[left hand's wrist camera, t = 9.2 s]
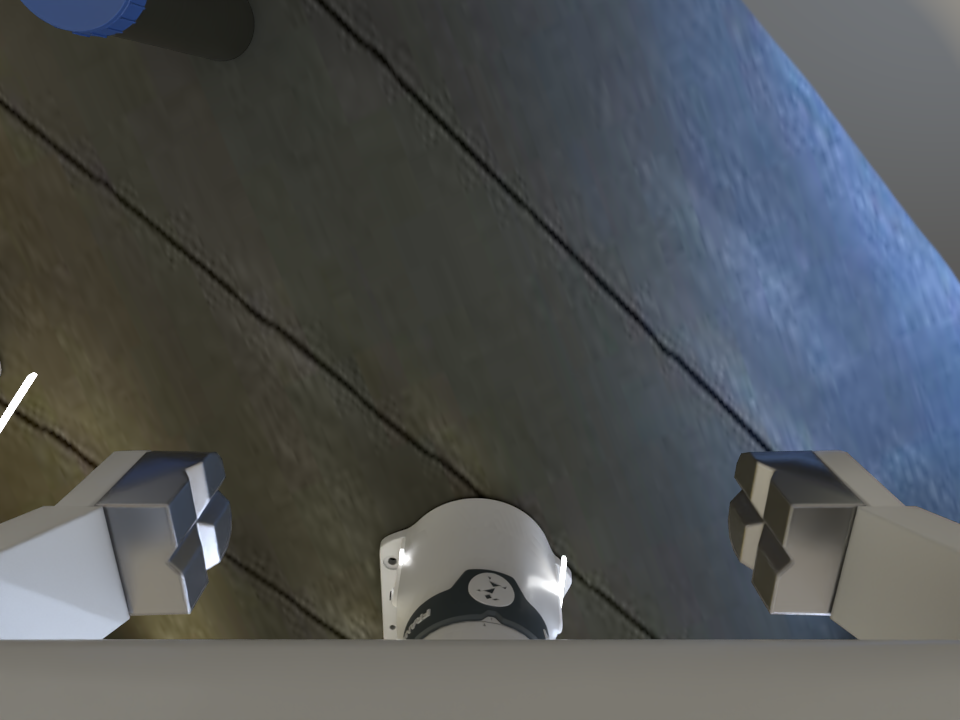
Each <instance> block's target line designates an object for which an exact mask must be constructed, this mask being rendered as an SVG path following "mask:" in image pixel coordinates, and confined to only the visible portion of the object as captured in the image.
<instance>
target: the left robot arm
mask: <svg viewBox="0 0 960 720" xmlns="http://www.w3.org/2000/svg"><path fill="white" fill-rule="evenodd" d="M225 478H226V477H225V472H224V467H223V462H222V458H221V457H220V456H219V455H218V454H217V453H216V452H193V451H150V450H134V451H116V452H113V453H112V454H111V455H110V456H109V457H108V458H107V459H106V460H105V461H103V462H102V463H101V464H100V465H99V466H98V467H97V468H96V469H95V470H94V471H92V472H91V473H90V474H89V475H88V476H87V477H86V478H85V479H84V480H83V481H82V482H80V483H79V484H78V485H77V486H76V487H75V488H74V489H73V490H72V491H71V492H69V493H68V494H67V495H66V496H65V497H64V498H63V499H62V500H61V501H60V502H59V503H57V504H56V505H55V506H43V507H41V508H38V509H36V510H33V511H31V512H28V513H26V514H23V515H21V516H18V517H16V518H13V519H11V520H8V521H6V522H3V523H1V524H0V720H960V524H959V523H956V522H954V521H952V520H949V519H947V518H944V517H942V516H939V515H937V514H934V513H932V512H929V511H927V510H924V509H922V508H919V507H917V506H905V505H904V504H903V503H902V502H900V501H899V500H898V499H897V498H896V497H895V496H894V495H893V494H892V493H891V492H890V491H888V490H887V489H886V488H885V487H884V486H883V485H882V484H881V483H880V482H879V481H878V480H876V479H875V478H874V477H873V476H872V475H871V474H870V473H869V472H868V471H867V470H866V469H864V468H863V467H862V466H861V465H860V464H859V463H858V462H857V461H856V460H855V459H853V458H852V457H851V456H850V455H849V454H848V453H847V452H844V451H840V450H825V451H776V452H747V453H741V455H740V457H739V460H738V462H737V465H736V471H735V476H734V478H735V479H736V481H737V482H738V484H739V485H740V487H741V488H742V490H741V491H740V492H739V493H738V494H737V496H736V497H735V498H734V499H733V500H732V501H731V502H730V508H729V516H728V526H729V537H730V541H731V544H732V547H733V550H734V552H735V554H736V556H737V558H738V560H739V561H740V562H741V563H742V564H744V565H746V566H747V567H749V568H751V569H752V570H753V575H752V581H751V582H752V584H753V586H754V587H755V589H756V591H757V592H758V594H759V596H760V597H761V599H762V601H763V603H764V604H765V606H766V608H767V609H768V611H769V613H770V614H791V615H828V616H830V619H832V620H833V621H834V622H836V623H837V624H838V625H840V626H841V627H842V628H844V629H845V630H847V631H848V632H849V633H851V634H852V635H853V636H855V637H856V638H857V639H859V640H556V637H557V634H560V633H561V632H562V611H561V607H562V599H563V597H564V596H565V594H566V592H567V591H568V589H569V587H570V585H571V583H572V575H571V571H570V569H569V568H568V567H567V565H566V563H567V561H566V556H562V561H561V560H560V559H559V558H558V557H557V556H555V555H554V553H553V552H552V550H551V548H550V546H549V543H548V541H547V539H546V537H545V535H544V533H543V531H542V530H541V528H540V527H539V526H538V525H537V523H536V522H535V521H534V520H533V519H532V518H531V517H529V516H528V515H527V514H526V513H524V512H523V511H521V510H519V509H518V508H516V507H514V506H511V505H509V504H507V503H504V502H500V501H496V500H491V499H483V498H469V499H461V500H456V501H452V502H449V503H446V504H444V505H441V506H439V507H437V508H435V509H433V510H432V511H430V512H429V513H427V514H426V515H425V516H423V517H422V518H421V519H420V520H419V521H418V522H416V523H415V524H414V525H413V526H411V527H410V528H408V529H405V530H402V531H399V532H396V533H393V534H391V535H389V536H387V537H385V538H384V539H383V540H382V541H381V543H380V571H381V592H382V614H383V635H384V639H103V638H104V637H106V636H107V635H108V634H110V633H111V632H112V631H114V630H115V629H116V628H118V627H119V626H120V625H122V624H123V623H124V622H126V621H127V620H128V619H130V616H131V615H167V614H190V613H191V611H192V609H193V608H194V606H195V604H196V603H197V601H198V599H199V597H200V596H201V594H202V592H203V591H204V589H205V587H206V586H207V584H208V582H209V581H208V576H207V570H208V569H209V568H211V567H213V566H214V565H216V564H217V563H219V562H220V561H221V559H222V558H223V556H224V554H225V552H226V550H227V548H228V544H229V540H230V535H231V531H232V514H231V507H230V502H229V501H228V500H227V499H226V498H225V497H224V496H223V495H222V493H221V492H220V491H219V490H218V488H219V487H220V485H221V484H222V482H223V481H224V479H225ZM390 558H395V559H396V560H391V559H390Z"/></svg>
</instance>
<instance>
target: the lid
mask: <svg viewBox="0 0 960 720" xmlns="http://www.w3.org/2000/svg"><path fill="white" fill-rule="evenodd" d="M21 1H22V3H23V4H24V5H25V6H26V7H27V8H28V9H29V10H30V11H31V12H33V13H34V14H35V15H36V16H37V17H39V18H40V19H42V20H43V21H45V22H47V23H49V24H50V25H52V26H54V27H56V28H59V29H64V30H68V31H72V33H73V34H77V35H82V36H86V37H90V36H99V37H104V38H107V36H109V35H114V34H116V33H123V32H122V31H123V30H125V29H127V28H128V27H129V26H131V25H132V24H135V23H136V22H135V21H136V19H137V18H138V17H139V16H140V14H141V12H142V11H143V10H145V7H144V6H145V4H146V1H147V0H21Z"/></svg>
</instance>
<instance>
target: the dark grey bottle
mask: <svg viewBox="0 0 960 720" xmlns="http://www.w3.org/2000/svg"><path fill="white" fill-rule="evenodd" d="M144 7H145V10H143V11H142V12H141V14H140V16H139V17H138V18H137V19H136V21H135V22H136V23H135V24H132V25H131V26H129V27H128V28H127V29H125V30H123V31H122V32H123V33H116V34H114V35H111V36H115V37H119V38H123V39H128V40H132V41H136V42H140V43H144V44H148V45H153V46H157V47H161V48H165V49H169V50H173V51H178V52H182V53H186V54H190V55H194V56H198V57H202V58H207V59H211V60H215V61H227V60H231V59H234V58H236V57H238V56H239V55H240V54H242V53H243V52H244V51H245V50H246V48H247V47H248V46H249V44H250V42H251V39H252V36H253V32H254V18H253V13H252V9H251V7H250V4H249V2H248V0H147V1H146V4H145V6H144Z"/></svg>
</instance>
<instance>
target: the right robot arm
mask: <svg viewBox="0 0 960 720" xmlns="http://www.w3.org/2000/svg"><path fill="white" fill-rule="evenodd" d="M0 375H1V363H0ZM36 376H37V374H36V373H34V372H33V373H32V374H30V375H28V377H27V378H26V380H25V381H24V383H23V384H22V386H21V388H20V389H19V391H18V392H17V394H16V395H15V397H14V399H13V400H12V402H11V403H10V405H9V406H8V408H7V410H6V411H5V413H4V414H3V416H2V417H1V419H0V432H1V430H2V429H3V427H4V426H5V424H6V423H7V421H8V420H9V418H10V416H11V415H12V413H13V412H14V410H15V409H16V407H17V406H18V404H19V402H20V401H21V399H22V398H23V396H24V395H25V393H26V391H27V390H28V388H29V387H30V385H31V384H32V382H33V381H34V379H35V377H36Z"/></svg>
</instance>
